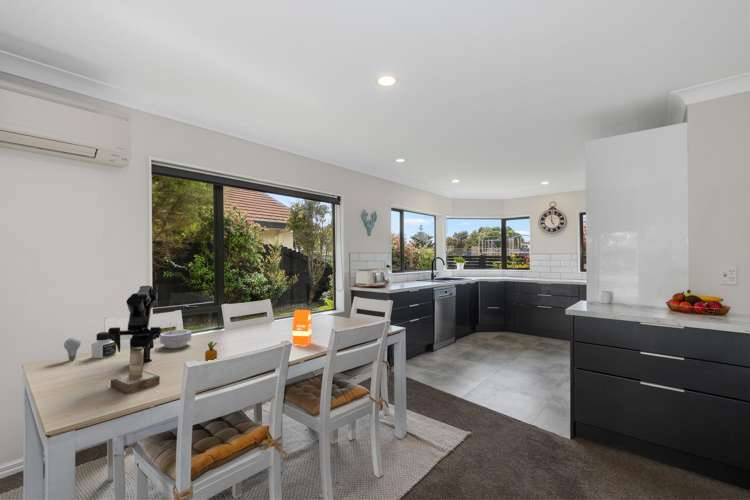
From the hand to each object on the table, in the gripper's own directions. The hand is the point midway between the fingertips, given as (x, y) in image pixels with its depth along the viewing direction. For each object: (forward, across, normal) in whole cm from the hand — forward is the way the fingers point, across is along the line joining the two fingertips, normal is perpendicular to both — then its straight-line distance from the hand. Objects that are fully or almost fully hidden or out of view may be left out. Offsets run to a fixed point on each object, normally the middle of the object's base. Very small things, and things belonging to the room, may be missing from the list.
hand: (132, 351), depth 146 cm
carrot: (+16, +29, -5) cm, 33 cm away
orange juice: (-5, +81, +13) cm, 82 cm away
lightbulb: (-17, -24, +42) cm, 51 cm away
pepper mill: (+12, +2, -2) cm, 13 cm away
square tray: (+15, +2, 0) cm, 15 cm away
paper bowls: (-22, +20, +42) cm, 51 cm away
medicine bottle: (-18, -12, +42) cm, 47 cm away
